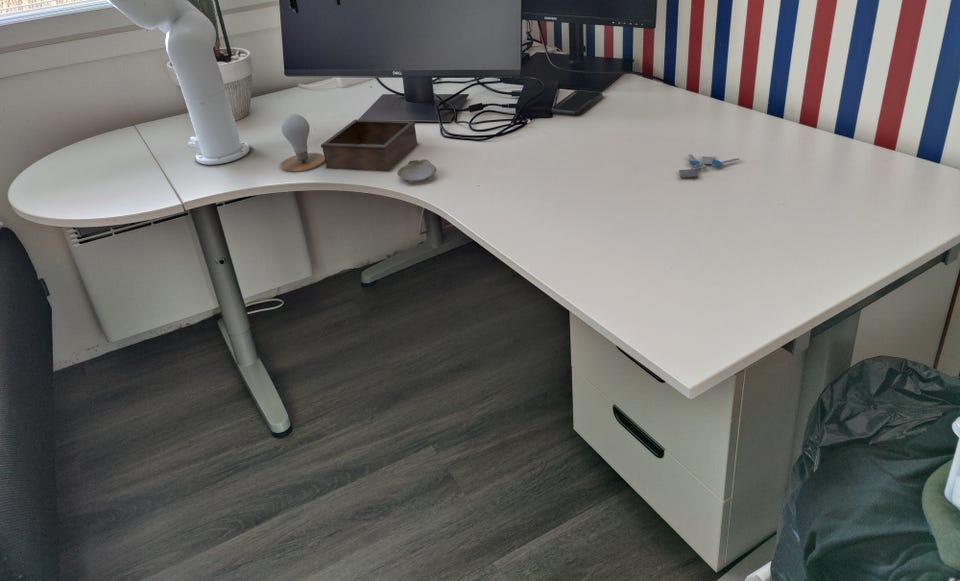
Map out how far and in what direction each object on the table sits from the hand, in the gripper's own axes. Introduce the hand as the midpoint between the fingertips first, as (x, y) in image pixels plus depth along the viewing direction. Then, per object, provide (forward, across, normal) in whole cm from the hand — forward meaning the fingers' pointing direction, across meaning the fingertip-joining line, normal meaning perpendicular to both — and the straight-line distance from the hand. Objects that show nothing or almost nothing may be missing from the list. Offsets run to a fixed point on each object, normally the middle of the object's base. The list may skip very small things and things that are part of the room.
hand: (316, 8), depth 167 cm
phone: (+30, -56, +19) cm, 66 cm away
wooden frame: (+30, -2, +18) cm, 35 cm away
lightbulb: (+30, +13, +11) cm, 35 cm away
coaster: (+30, +13, +11) cm, 35 cm away
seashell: (+31, -6, +36) cm, 48 cm away
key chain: (+30, -55, +66) cm, 92 cm away
